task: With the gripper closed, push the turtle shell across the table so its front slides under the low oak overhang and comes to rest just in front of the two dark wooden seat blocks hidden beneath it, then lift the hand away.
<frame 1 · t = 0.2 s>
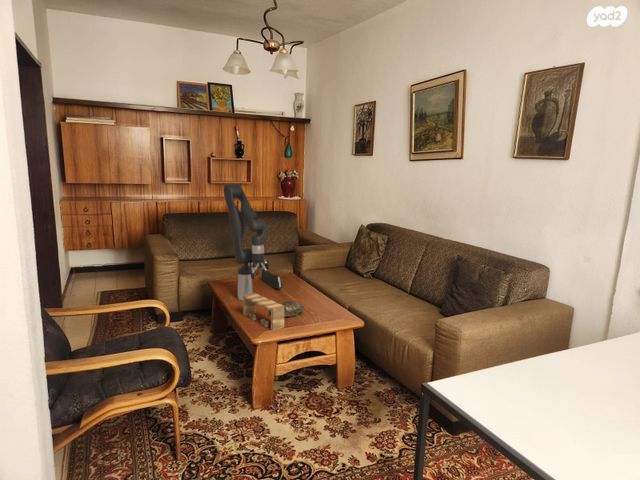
hand: (258, 277, 253), 17 cm above the table, tool pointing down, fingers open, 8 cm apart
magazine: (271, 286, 295), on the table
oak overhang: (262, 321, 230), on the table
turtle shell: (286, 314, 242), on the table
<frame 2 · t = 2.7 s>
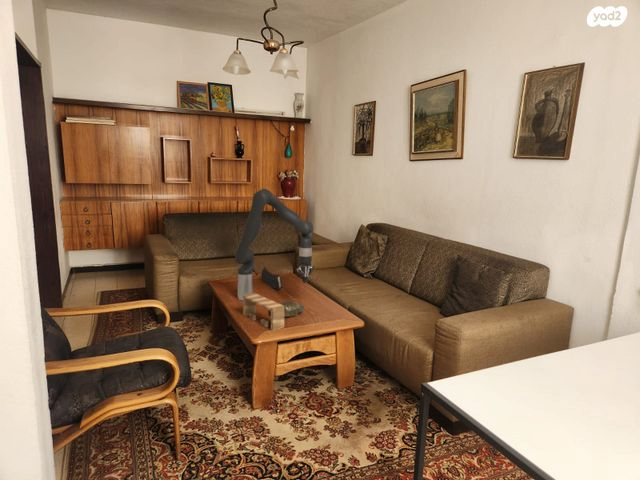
hand: (305, 282, 248), 17 cm above the table, tool pointing down, fingers closed
nothing on the table moved.
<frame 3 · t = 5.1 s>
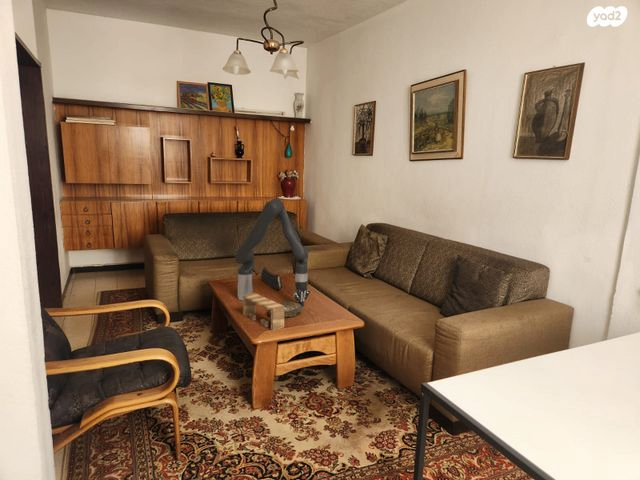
hand: (301, 307, 249), 2 cm above the table, tool pointing down, fingers closed
turtle shell: (284, 314, 241), on the table, touching gripper
everything else where it was.
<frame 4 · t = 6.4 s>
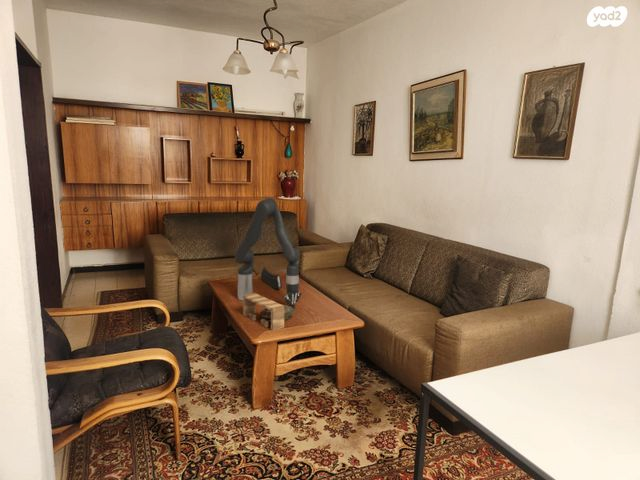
hand: (292, 309, 244), 2 cm above the table, tool pointing down, fingers closed
turtle shell: (276, 318, 236), on the table, touching gripper
everything else where it was.
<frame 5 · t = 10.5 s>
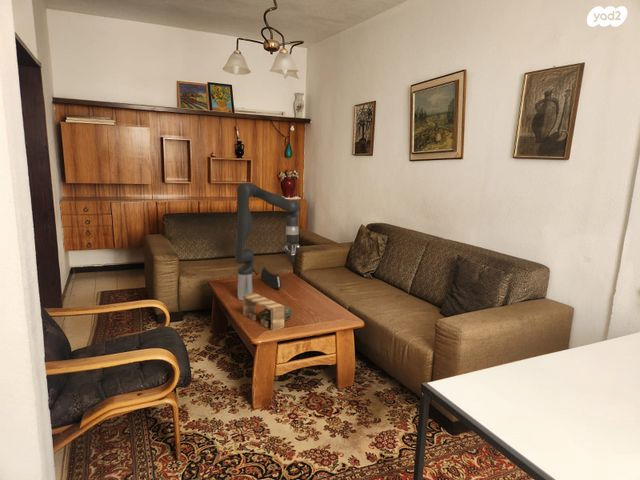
hand: (291, 261, 249), 29 cm above the table, tool pointing down, fingers closed
turtle shell: (274, 319, 235), on the table
everything else where it was.
at the end: turtle shell inside the target area (1.7 cm from its centre), on the table; turtle shell moved 9.8 cm from its start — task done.
